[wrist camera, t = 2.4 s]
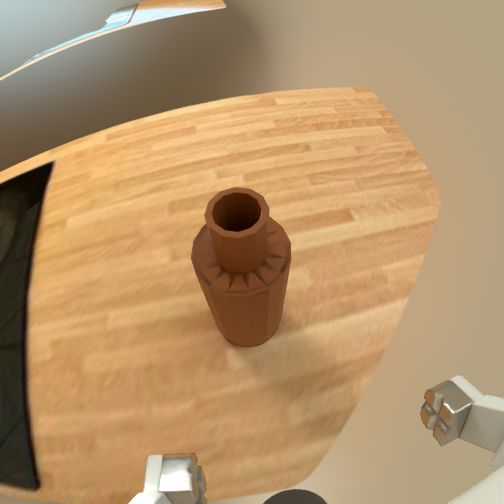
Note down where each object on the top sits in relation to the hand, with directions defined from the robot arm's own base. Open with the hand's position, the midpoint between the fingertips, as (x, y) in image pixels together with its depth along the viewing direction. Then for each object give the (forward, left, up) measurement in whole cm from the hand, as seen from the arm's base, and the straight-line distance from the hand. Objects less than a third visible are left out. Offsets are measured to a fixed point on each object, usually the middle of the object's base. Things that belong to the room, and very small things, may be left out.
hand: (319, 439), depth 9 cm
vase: (+12, -1, -20) cm, 23 cm away
